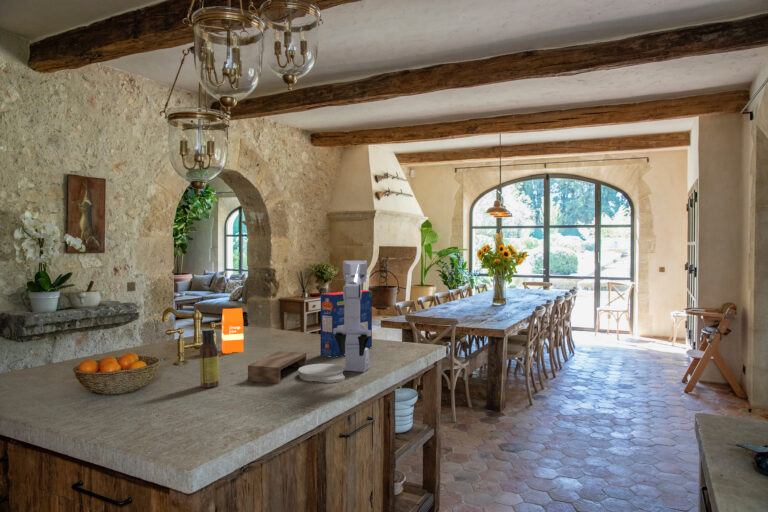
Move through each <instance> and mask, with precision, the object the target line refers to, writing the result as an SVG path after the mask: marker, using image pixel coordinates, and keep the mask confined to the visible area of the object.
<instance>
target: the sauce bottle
mask: <svg viewBox="0 0 768 512" xmlns="http://www.w3.org/2000/svg"><path fill="white" fill-rule="evenodd" d="M201 335H202V344H201V346H200V348H199V378H200V381H199V382H200V387H202V388H205V389H206V388H207V389H210V388H216V387H218V386H219V385H220V367H219V366H220V364H219V362H220V361H219V351H218V348H217V345H216V342H215V329H214V328H205V329H202V330H201Z"/></svg>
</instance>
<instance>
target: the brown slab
mask: <svg viewBox="0 0 768 512" xmlns="http://www.w3.org/2000/svg"><path fill="white" fill-rule="evenodd" d="M306 365H307V352H298V351H279V350H278V351H276V352H274V353H272V354H270V355H268V356H266V357H264V358H261V359H259V360H257V361H254V362H253V363H250V364H248V365H247V382H252V381H257V382H256V383H265V382H269V383H270V384H280V383H281V370H283V369H284V368H286V367H288V366H296V367H295V368H300V367H303V366H306Z"/></svg>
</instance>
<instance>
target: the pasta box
mask: <svg viewBox="0 0 768 512" xmlns="http://www.w3.org/2000/svg"><path fill="white" fill-rule="evenodd" d="M344 306H345V305H344V298H343V291H337V292H336V291H335V292H327V293H326V292H324V293H321V294H320V356H321V355H325V356H331V357H336V356H340V355H343V356H345V355H344V354H340V349H339V346H338V343H337V341H336V339H335V337H334V336H335V335H336V334H333V329H334V328H343V326H344ZM360 323H362V324H363V325H364V326H365V328H366V330H371V336H370V338H369V340H368V342H367V344H366V347H365V348H369V349H371V348H370V347H372V346H373V344H372V343H373V335H372V333H373V290H367V289H365V290H364V289H361V300H360ZM372 348H373V347H372ZM325 356H324V357H325ZM331 357H330V358H331ZM340 357H341V356H340ZM336 358H337V357H336Z"/></svg>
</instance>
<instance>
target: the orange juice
mask: <svg viewBox="0 0 768 512" xmlns="http://www.w3.org/2000/svg"><path fill="white" fill-rule="evenodd" d="M221 351H222V353H223V354H224V353H225V354H233V353H232V352H238V353H244V317H243V308H242V307H240V308H222V316H221Z"/></svg>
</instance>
